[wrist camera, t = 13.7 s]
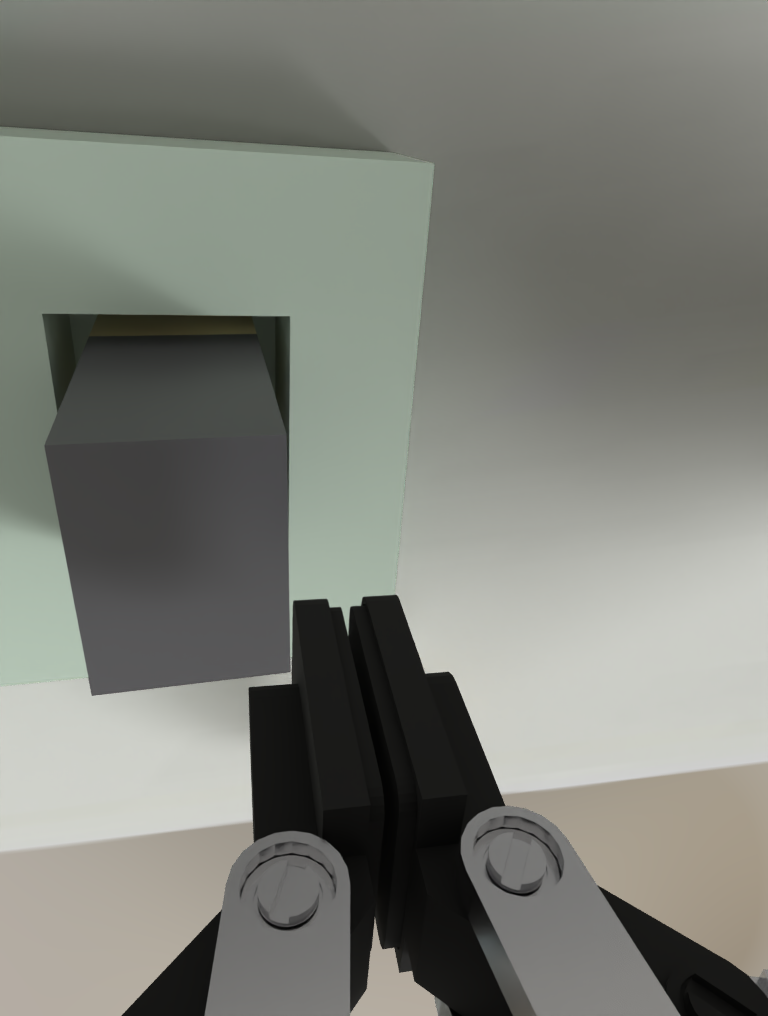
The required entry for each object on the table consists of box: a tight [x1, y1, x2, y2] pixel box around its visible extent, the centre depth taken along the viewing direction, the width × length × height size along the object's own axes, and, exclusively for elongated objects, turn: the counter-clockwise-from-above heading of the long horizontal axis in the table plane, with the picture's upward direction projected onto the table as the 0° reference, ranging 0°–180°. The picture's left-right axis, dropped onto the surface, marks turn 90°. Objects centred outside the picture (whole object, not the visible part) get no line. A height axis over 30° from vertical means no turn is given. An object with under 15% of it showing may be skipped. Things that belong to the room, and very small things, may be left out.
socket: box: [0, 126, 435, 686], centre depth 19 cm, size 16×14×5 cm
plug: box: [44, 314, 290, 696], centre depth 18 cm, size 4×6×9 cm
